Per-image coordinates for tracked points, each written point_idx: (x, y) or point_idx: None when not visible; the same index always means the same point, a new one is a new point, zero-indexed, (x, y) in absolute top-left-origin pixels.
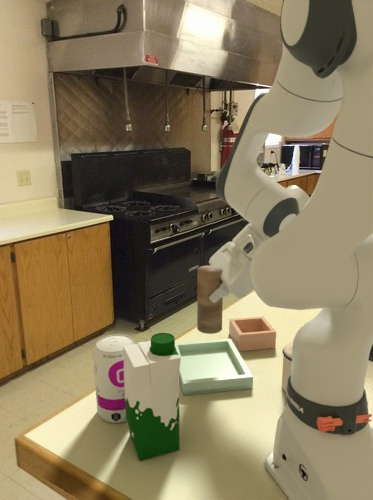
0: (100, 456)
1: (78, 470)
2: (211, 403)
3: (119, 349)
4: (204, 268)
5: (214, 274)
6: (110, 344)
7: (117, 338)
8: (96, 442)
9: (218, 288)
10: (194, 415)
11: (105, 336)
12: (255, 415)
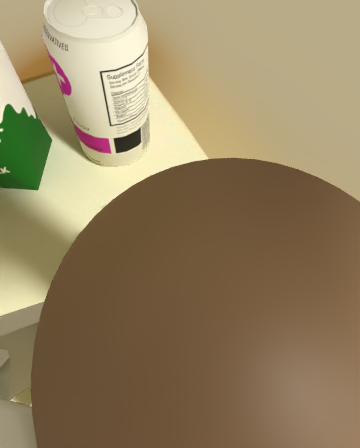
0: (36, 101)
1: (29, 79)
2: (46, 289)
3: (56, 9)
4: (325, 269)
5: (47, 304)
6: (93, 4)
7: (116, 21)
8: (65, 104)
9: (9, 329)
10: (33, 242)
11: (137, 5)
12: None
